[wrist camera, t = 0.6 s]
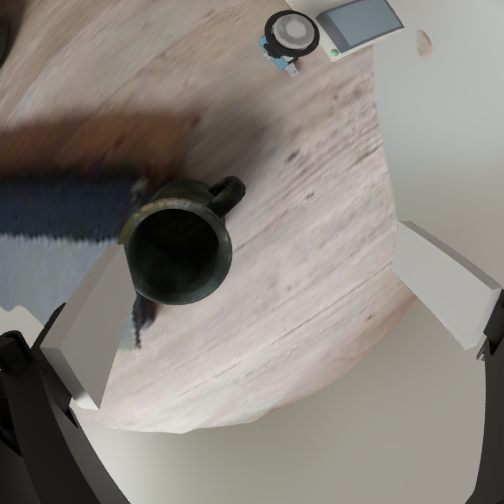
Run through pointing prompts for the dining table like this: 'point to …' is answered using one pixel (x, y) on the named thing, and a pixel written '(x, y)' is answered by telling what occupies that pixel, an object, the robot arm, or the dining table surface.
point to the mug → (181, 240)
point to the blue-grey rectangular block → (358, 22)
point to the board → (312, 4)
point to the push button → (289, 39)
